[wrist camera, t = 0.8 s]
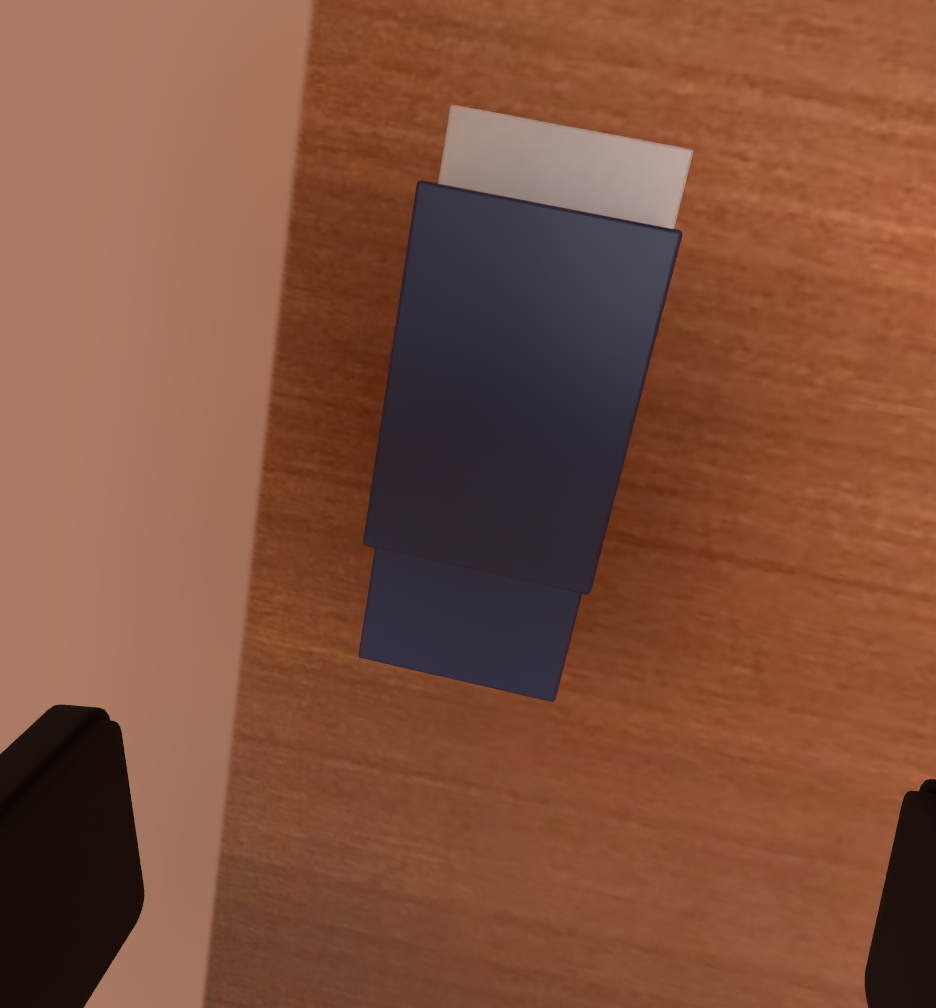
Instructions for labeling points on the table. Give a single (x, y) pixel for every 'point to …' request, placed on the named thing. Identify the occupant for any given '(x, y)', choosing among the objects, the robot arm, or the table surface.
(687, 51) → the table surface
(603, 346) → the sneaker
